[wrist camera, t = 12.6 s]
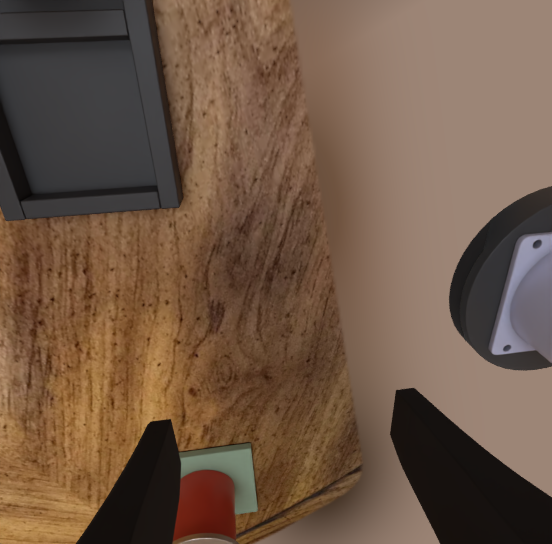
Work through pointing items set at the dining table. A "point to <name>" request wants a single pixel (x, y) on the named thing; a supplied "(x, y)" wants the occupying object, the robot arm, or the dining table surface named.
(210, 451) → the coaster
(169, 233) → the dining table surface
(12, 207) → the pod holder
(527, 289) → the robot arm
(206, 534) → the red pod
